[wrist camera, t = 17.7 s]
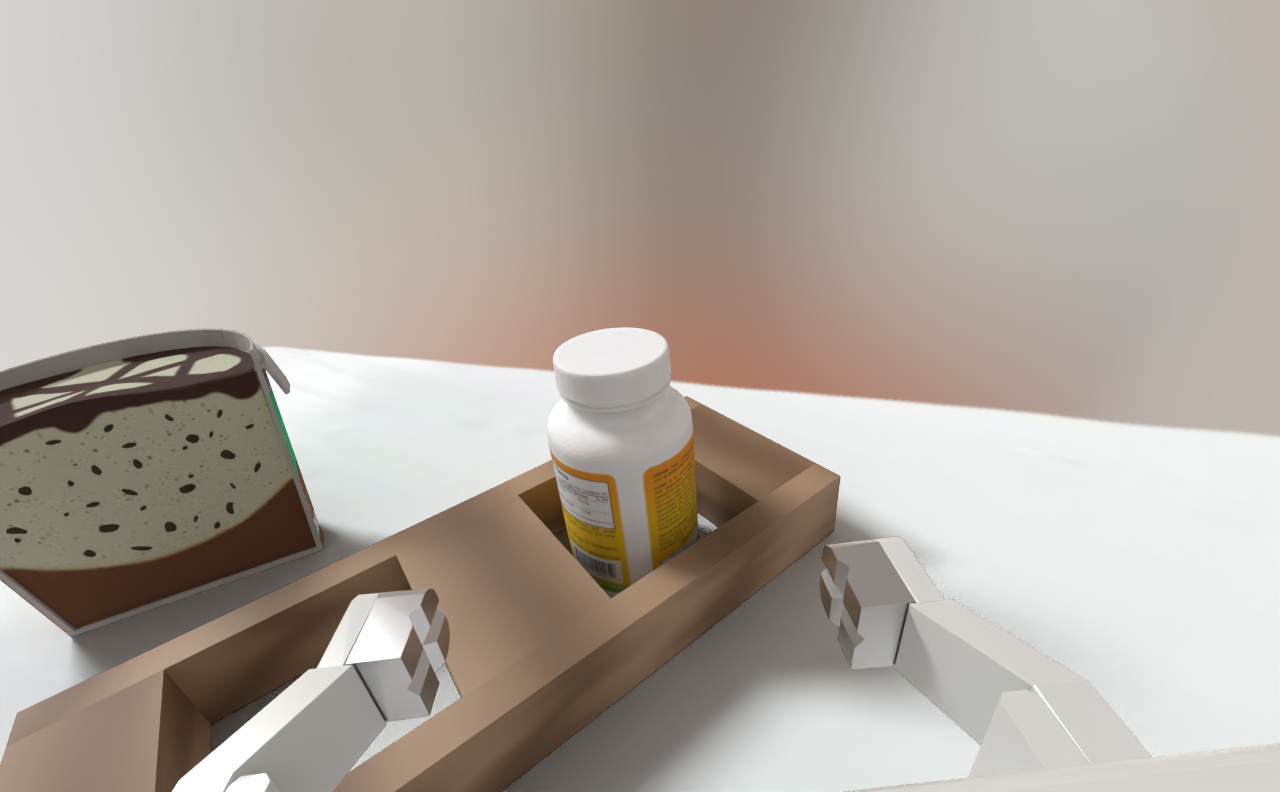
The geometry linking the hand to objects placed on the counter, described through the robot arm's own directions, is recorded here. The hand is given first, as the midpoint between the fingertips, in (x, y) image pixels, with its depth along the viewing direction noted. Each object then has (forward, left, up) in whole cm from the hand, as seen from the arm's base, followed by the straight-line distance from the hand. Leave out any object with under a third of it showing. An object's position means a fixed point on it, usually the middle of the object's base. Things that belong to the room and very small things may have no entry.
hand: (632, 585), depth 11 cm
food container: (-10, +21, -8) cm, 25 cm away
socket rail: (-1, +7, -8) cm, 11 cm away
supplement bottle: (+5, +7, -8) cm, 12 cm away
